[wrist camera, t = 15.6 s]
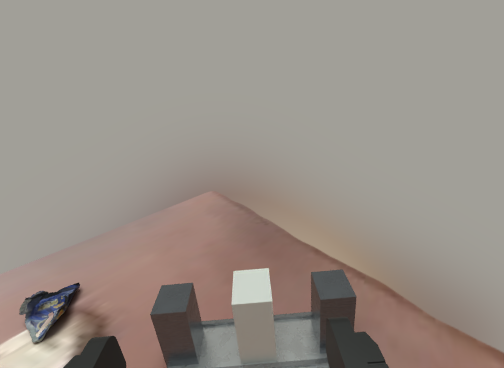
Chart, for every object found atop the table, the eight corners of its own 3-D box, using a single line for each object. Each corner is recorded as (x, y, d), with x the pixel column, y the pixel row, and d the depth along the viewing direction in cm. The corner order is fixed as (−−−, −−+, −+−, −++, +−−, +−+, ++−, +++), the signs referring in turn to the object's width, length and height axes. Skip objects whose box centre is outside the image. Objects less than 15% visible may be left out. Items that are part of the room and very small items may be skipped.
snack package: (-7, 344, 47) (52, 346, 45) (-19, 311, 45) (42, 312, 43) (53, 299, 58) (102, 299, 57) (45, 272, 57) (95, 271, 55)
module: (241, 364, 37) (231, 304, 32) (241, 325, 42) (233, 270, 38) (277, 361, 37) (272, 301, 32) (272, 322, 42) (268, 267, 38)
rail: (166, 393, 36) (144, 328, 32) (181, 334, 45) (165, 275, 40) (356, 377, 36) (362, 309, 31) (335, 320, 44) (338, 260, 40)
